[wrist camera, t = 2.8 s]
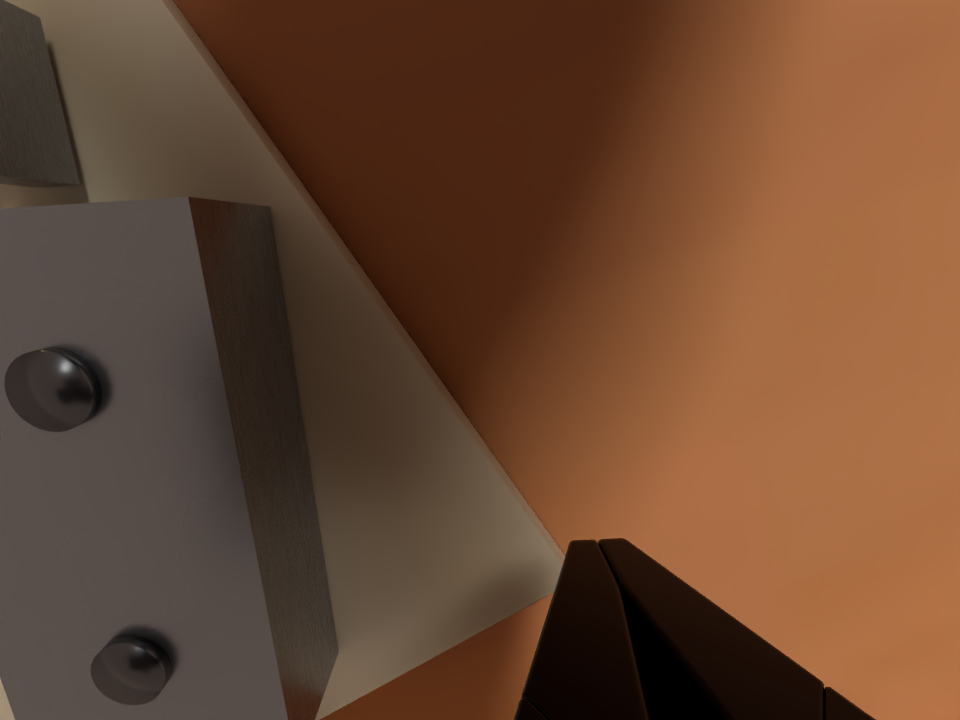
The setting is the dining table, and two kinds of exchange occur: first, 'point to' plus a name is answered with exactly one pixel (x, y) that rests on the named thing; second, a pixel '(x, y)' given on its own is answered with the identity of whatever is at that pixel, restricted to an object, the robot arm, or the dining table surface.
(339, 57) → the dining table surface
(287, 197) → the mounting board
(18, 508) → the gray two-knob panel
